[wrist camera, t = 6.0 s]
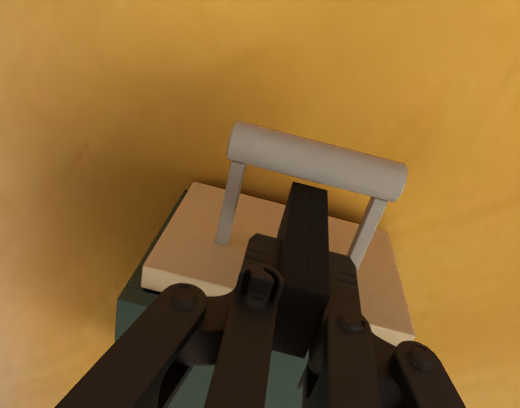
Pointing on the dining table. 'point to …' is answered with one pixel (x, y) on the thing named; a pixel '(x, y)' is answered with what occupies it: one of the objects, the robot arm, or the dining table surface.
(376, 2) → the dining table surface
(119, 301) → the cabinet
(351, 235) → the drawer
